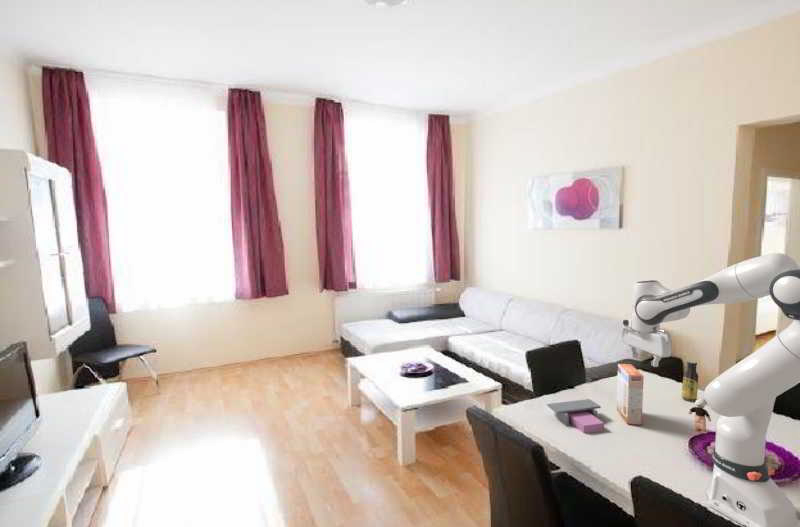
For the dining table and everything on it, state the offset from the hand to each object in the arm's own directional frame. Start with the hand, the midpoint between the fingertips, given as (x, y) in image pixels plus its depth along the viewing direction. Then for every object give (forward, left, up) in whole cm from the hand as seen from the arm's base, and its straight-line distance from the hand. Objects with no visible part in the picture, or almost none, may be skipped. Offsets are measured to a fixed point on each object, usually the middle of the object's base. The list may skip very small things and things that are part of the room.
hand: (644, 361), depth 152 cm
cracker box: (+19, -10, -31) cm, 38 cm away
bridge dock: (+23, +12, -31) cm, 40 cm away
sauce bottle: (+27, -48, -31) cm, 63 cm away
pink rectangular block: (+19, +12, -32) cm, 39 cm away
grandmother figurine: (+3, -28, -31) cm, 42 cm away
